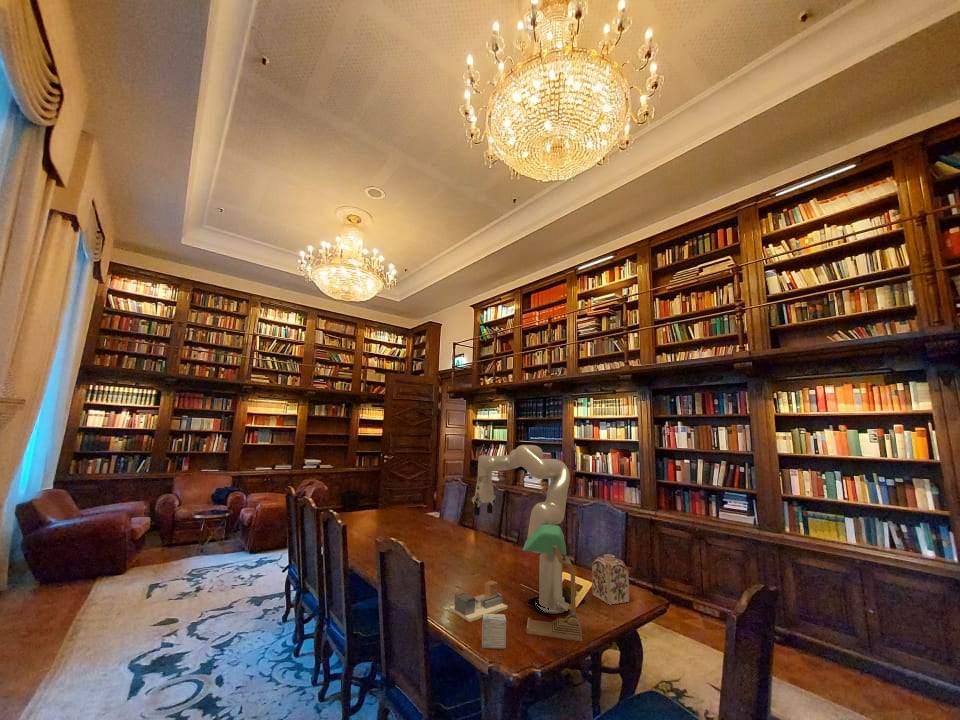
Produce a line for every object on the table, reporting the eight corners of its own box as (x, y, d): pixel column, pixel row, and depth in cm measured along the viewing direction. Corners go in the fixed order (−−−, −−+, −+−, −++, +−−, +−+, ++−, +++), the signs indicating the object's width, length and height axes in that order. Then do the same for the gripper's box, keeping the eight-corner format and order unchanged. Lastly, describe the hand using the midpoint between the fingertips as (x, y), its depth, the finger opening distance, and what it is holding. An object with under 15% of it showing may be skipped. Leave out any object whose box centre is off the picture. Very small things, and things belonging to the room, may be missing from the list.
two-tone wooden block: (497, 602, 157) (498, 582, 158) (477, 608, 150) (478, 588, 152) (492, 599, 159) (492, 580, 161) (472, 605, 152) (472, 585, 154)
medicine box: (504, 642, 128) (505, 613, 130) (505, 649, 123) (506, 619, 125) (481, 641, 128) (482, 613, 129) (481, 648, 123) (482, 619, 125)
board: (507, 608, 154) (507, 597, 155) (469, 621, 141) (470, 609, 142) (486, 598, 163) (486, 587, 164) (449, 609, 151) (449, 597, 152)
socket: (474, 612, 147) (475, 598, 148) (465, 615, 144) (465, 601, 145) (463, 606, 152) (464, 592, 153) (454, 609, 149) (455, 595, 150)
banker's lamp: (583, 646, 127) (581, 535, 134) (521, 637, 131) (522, 530, 139) (580, 625, 142) (578, 526, 149) (525, 618, 146) (526, 522, 154)
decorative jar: (609, 605, 161) (607, 560, 165) (591, 595, 171) (590, 552, 175) (630, 602, 165) (628, 558, 169) (612, 592, 176) (611, 550, 180)
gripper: (478, 481, 189) (477, 517, 185) (500, 479, 201) (499, 513, 198) (467, 479, 194) (466, 514, 190) (490, 478, 206) (489, 511, 203)
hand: (483, 514), depth 194 cm, fingers open, 9 cm apart
